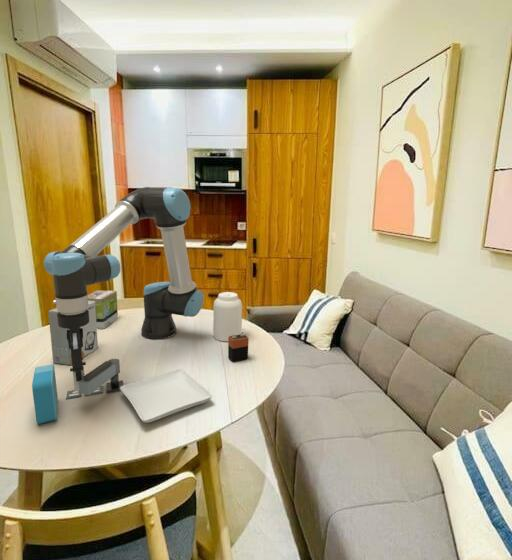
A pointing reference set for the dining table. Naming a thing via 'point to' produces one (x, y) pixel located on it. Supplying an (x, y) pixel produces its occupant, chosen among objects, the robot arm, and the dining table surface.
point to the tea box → (104, 307)
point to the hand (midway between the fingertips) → (80, 388)
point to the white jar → (227, 316)
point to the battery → (238, 347)
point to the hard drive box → (59, 336)
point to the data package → (45, 394)
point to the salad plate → (164, 394)
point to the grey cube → (114, 384)
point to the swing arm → (99, 376)
